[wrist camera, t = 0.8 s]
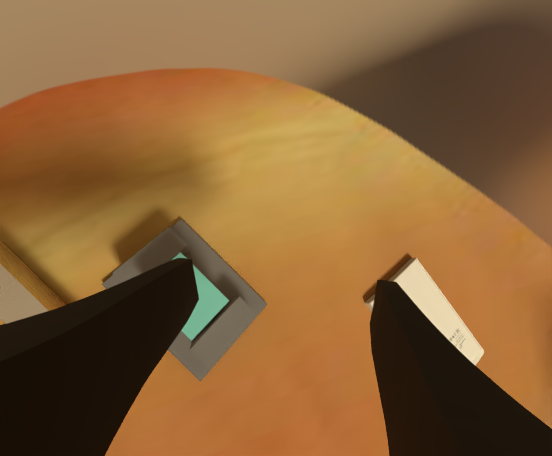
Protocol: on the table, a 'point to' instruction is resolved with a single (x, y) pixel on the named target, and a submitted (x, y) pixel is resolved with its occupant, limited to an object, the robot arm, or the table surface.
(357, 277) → the table surface
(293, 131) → the table surface
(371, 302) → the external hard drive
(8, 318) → the port
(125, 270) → the holster
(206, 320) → the plug
